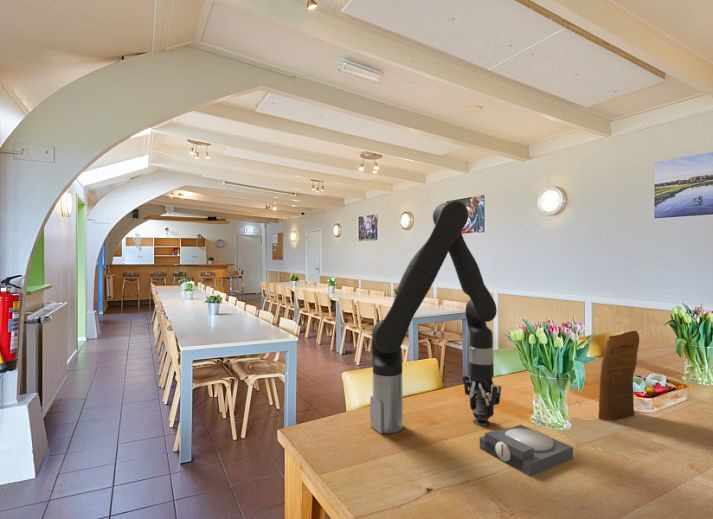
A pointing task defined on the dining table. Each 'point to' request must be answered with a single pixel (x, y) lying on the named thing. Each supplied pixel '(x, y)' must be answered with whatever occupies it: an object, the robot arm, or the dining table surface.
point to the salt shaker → (480, 411)
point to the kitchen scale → (526, 449)
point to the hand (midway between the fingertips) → (481, 412)
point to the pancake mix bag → (618, 376)
